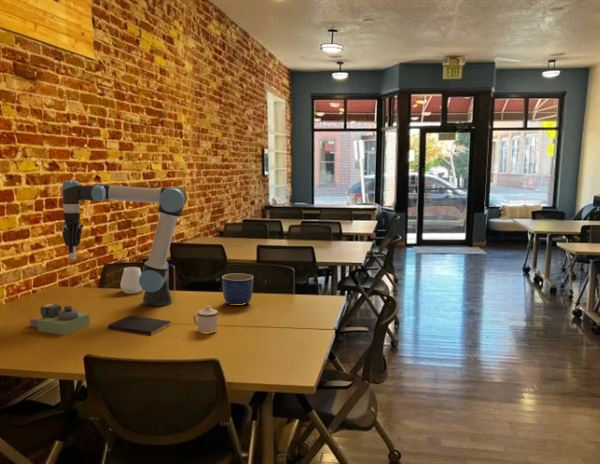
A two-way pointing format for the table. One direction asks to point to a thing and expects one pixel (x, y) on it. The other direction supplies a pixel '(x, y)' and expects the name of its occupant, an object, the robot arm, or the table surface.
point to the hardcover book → (138, 325)
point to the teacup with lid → (206, 319)
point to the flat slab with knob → (62, 322)
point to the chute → (50, 310)
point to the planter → (237, 288)
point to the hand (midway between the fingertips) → (72, 259)
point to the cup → (131, 280)
